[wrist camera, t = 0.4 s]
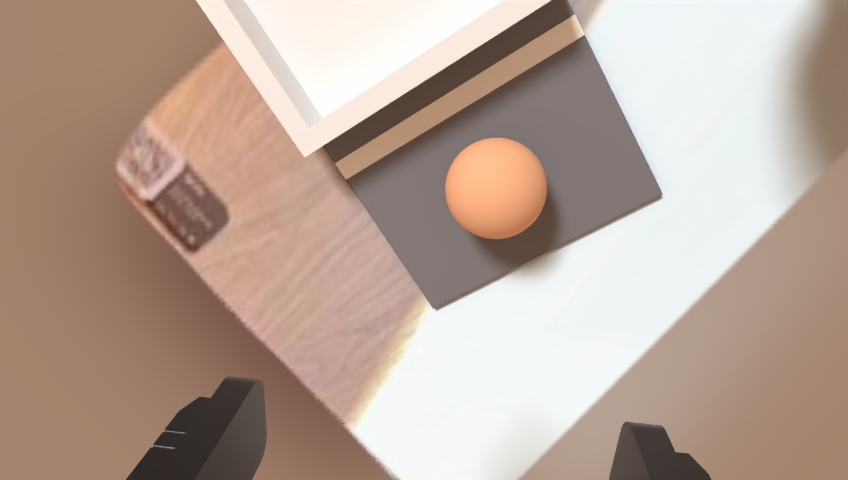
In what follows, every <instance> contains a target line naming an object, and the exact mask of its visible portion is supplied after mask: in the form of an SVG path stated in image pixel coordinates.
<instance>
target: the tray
mask: <svg viewBox="0 0 848 480" xmlns="http://www.w3.org/2000/svg"><path fill="white" fill-rule="evenodd" d="M196 1H197V2H198V4H199V5H200V7H201V8H202V10H203V11H204V12H205V14H206V15H207V17H208V18H209V20H210V21H211V23H212V24H213V25H214V27H215V28H216V30H217V31H218V33H219V34H220V36H221V37H222V39H223V40H224V41H225V43H226V44H227V46H228V47H229V49H230V50H231V52H232V53H233V54H234V56H235V57H236V59H237V60H238V62H239V63H240V65H241V66H242V68H243V69H244V70H245V72H246V73H247V75H248V76H249V78H250V79H251V81H252V82H253V83H254V85H255V86H256V88H257V89H258V91H259V92H260V94H261V95H262V97H263V98H264V99H265V101H266V102H267V104H268V105H269V107H270V108H271V110H272V111H273V112H274V114H275V115H276V117H277V118H278V120H279V121H280V123H281V124H282V126H283V127H284V128H285V130H286V131H287V133H288V134H289V136H290V137H291V139H292V140H293V141H294V143H295V144H296V146H297V147H298V149H299V150H300V152H301V153H302V154H303V156H304V157H306V156H308V155H309V154H311V153H312V152H314V151H315V150H317V149H319V148H320V147H322V146H323V145H325V144H326V143H328V142H330V141H331V140H333V139H334V138H336V137H337V136H339V135H341V134H342V133H344V132H345V131H347V130H348V129H350V128H352V127H353V126H355V125H356V124H358V123H359V122H361V121H363V120H364V119H366V118H367V117H369V116H370V115H372V114H374V113H375V112H377V111H378V110H380V109H381V108H383V107H385V106H386V105H388V104H389V103H391V102H392V101H394V100H396V99H397V98H399V97H400V96H402V95H403V94H405V93H407V92H408V91H410V90H411V89H413V88H414V87H416V86H418V85H419V84H421V83H422V82H424V81H425V80H427V79H429V78H430V77H432V76H433V75H435V74H436V73H438V72H440V71H441V70H443V69H444V68H446V67H447V66H449V65H451V64H452V63H454V62H455V61H457V60H458V59H460V58H462V57H463V56H465V55H466V54H468V53H469V52H471V51H473V50H474V49H476V48H477V47H479V46H480V45H482V44H484V43H485V42H487V41H488V40H490V39H491V38H493V37H495V36H496V35H498V34H499V33H501V32H502V31H504V30H506V29H507V28H509V27H510V26H512V25H513V24H515V23H517V22H518V21H520V20H521V19H523V18H524V17H526V16H528V15H529V14H531V13H532V12H534V11H535V10H537V9H539V8H540V7H542V6H543V5H545V4H546V3H548V2H550V1H551V0H196Z"/></svg>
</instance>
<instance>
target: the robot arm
mask: <svg viewBox="0 0 848 480" xmlns="http://www.w3.org/2000/svg"><path fill="white" fill-rule="evenodd" d="M264 400H265V399H264V386H263V383H262V381H261V380H256V379H248V378H238V377H230V376H229V377H226V378H225V379H224V380H223V382H222V383H221V384H220V386H219V387H218V389H217V390H216V391H215V393H214V394H213V396H212V397H211V398H206V397H199V398H197V399H196V400H194V401H193V402H191V403H190V404H189V405H187V406H186V407H185V408H183V409H181V410H180V411H179V412H178V413H177V414H176V416H175V417H174V418H173V419H172V421H171V422H170V423H169V425H168V426H167V427H166V429H165V432H164V433H162V434H161V435H160V436H159V438H158V439H157V440H156V441H155V443H154V446H153V448H150V449H149V451H148V452H147V453H146V454H145V456H144V457H143V458H142V460H141V461H140V462H139V463H138V465H137V466H136V467H135V469H134V470H133V472H132V473H131V474H130V475H129V476H128V478H127V479H126V480H252V478H253V476H254V475H255V472H256V471H257V469H258V466H259V464H260V462H261V460H262V457H263V454H264V450H265V445H266V437H267V431H266V415H265V401H264ZM609 480H711V478H710V476H709V474H708V473H707V472H706V471H705V470H704V469H703V468H702V467H701V466H700V465H699V464H698V463H697V462H696V461H695V460H694V459H693V458H692V457H691V456H690V455H689V454H687V453H678V452H675V450H674V448H673V446H672V444H671V441H670V439H669V437H668V435H667V433H666V431H665V429H664V427H662V426H660V425H651V424H643V423H634V422H625V423H624V424H623V426H622V429H621V432H620V436H619V440H618V444H617V448H616V452H615V457H614V460H613V465H612V469H611V473H610V478H609Z"/></svg>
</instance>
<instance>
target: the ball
mask: <svg viewBox="0 0 848 480" xmlns="http://www.w3.org/2000/svg"><path fill="white" fill-rule="evenodd" d="M445 193H446V200H447V204H448V207H449V209H450V211H451V213H452V215H453V216H454V218H455V219H456V221H457V222H458V223H459V224H460V225H461V226H462V227H463V228H465V229H466V230H468V231H469V232H471V233H473V234H475V235H477V236H480V237H483V238H488V239H503V238H508V237H511V236H514V235H517V234H519V233H521V232H522V231H524V230H525V229H527V228H528V227H529V226H530V225H531V224H532V223H533V222H534V221H535V220H536V219H537V217H538V216H539V214H540V213H541V211H542V209H543V206H544V204H545V200H546V196H547V181H546V175H545V172H544V169H543V167H542V165H541V163H540V161H539V160H538V158H537V157H536V156H535V155H534V153H533V152H532V151H531V150H529V149H528V148H527V147H526V146H524V145H522V144H521V143H519V142H516V141H514V140H511V139H506V138H488V139H483V140H480V141H477V142H475V143H473V144H471V145H469V146H468V147H466V148H465V149H464V150H463V151H462V152H460V154H459V155H458V156H457V157H456V158H455V160H454V161H453V163H452V165H451V167H450V169H449V171H448V174H447V178H446V184H445Z"/></svg>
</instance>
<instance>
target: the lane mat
mask: <svg viewBox="0 0 848 480" xmlns="http://www.w3.org/2000/svg"><path fill="white" fill-rule="evenodd" d="M488 138H506V139H511V140H514V141H516V142H519V143H521V144H522V145H524V146H526V147H527V148H528V149H529V150H531V151H532V152H533V153H534V155H535V156H536V157H537V158H538V160H539V161H540V163H541V165H542V167H543V169H544V172H545V175H546V181H547V196H546V200H545V204H544V206H543V209H542V211H541V213H540V214H539V216H538V217H537V219H536V220H535V221H534V222H533V223H532V224H531V225H530V226H529V227H528V228H527V229H525V230H524V231H522V232H521V233H519V234H517V235H514V236H511V237H508V238H503V239H488V238H483V237H480V236H477V235H475V234H473V233H471V232H469V231H468V230H466V229H465V228H463V227H462V226H461V225H460V224H459V223H458V222H457V221H456V219H455V218H454V216H453V215H452V213H451V211H450V209H449V207H448V204H447V200H446V193H445V184H446V178H447V174H448V171H449V169H450V167H451V165H452V163H453V161H454V160H455V158H456V157H457V156H458V155H459V154H460V152H462V151H463V150H464V149H465V148H466V147H468V146H469V145H471V144H473V143H475V142H477V141H480V140H483V139H488ZM323 146H324V147H325V149H326V150H327V152H328V153H329V155H330V156H331V158H332V159H333V161H334V162H335V165H336V166H337V168H338V169H339V171H340V172H341V174H342V175H343V176H344V178H345V179H346V180H347V181H348V183H349V184H350V186H351V187H352V189H353V190H354V192H355V193H356V195H357V196H358V198H359V199H360V201H361V202H362V204H363V205H364V207H365V208H366V210H367V211H368V213H369V214H370V216H371V217H372V218H373V220H374V221H375V223H376V224H377V226H378V227H379V229H380V230H381V232H382V233H383V235H384V236H385V238H386V239H387V241H388V242H389V244H390V245H391V247H392V248H393V250H394V251H395V253H396V254H397V256H398V257H399V259H400V260H401V262H402V263H403V264H404V266H405V267H406V269H407V270H408V272H409V273H410V275H411V276H412V278H413V279H414V281H415V282H416V284H417V285H418V287H419V288H420V290H421V291H422V293H423V294H424V296H425V297H426V299H427V300H428V302H429V303H430V305H431V306H432V307H433V309H434V308H436V307H438V306H440V305H442V304H444V303H446V302H448V301H450V300H452V299H454V298H456V297H458V296H460V295H462V294H464V293H466V292H468V291H470V290H472V289H474V288H476V287H478V286H480V285H482V284H484V283H486V282H488V281H490V280H492V279H494V278H496V277H498V276H500V275H502V274H504V273H506V272H508V271H510V270H512V269H514V268H516V267H518V266H520V265H522V264H524V263H526V262H528V261H530V260H532V259H534V258H536V257H538V256H540V255H542V254H544V253H546V252H548V251H550V250H552V249H554V248H556V247H558V246H560V245H562V244H564V243H566V242H568V241H570V240H572V239H574V238H576V237H578V236H580V235H582V234H584V233H586V232H588V231H590V230H592V229H594V228H596V227H598V226H600V225H602V224H604V223H606V222H608V221H610V220H612V219H614V218H616V217H618V216H620V215H622V214H624V213H626V212H628V211H630V210H632V209H634V208H636V207H638V206H640V205H642V204H644V203H646V202H648V201H650V200H652V199H654V198H656V197H658V196H660V195H662V192H661V190H660V188H659V186H658V184H657V182H656V179H655V177H654V175H653V173H652V171H651V169H650V167H649V165H648V163H647V161H646V159H645V157H644V155H643V153H642V151H641V149H640V147H639V145H638V143H637V141H636V139H635V137H634V135H633V133H632V131H631V128H630V126H629V124H628V122H627V120H626V118H625V116H624V114H623V112H622V110H621V108H620V106H619V104H618V102H617V100H616V98H615V96H614V94H613V92H612V90H611V88H610V86H609V84H608V82H607V80H606V78H605V75H604V73H603V71H602V69H601V67H600V65H599V63H598V61H597V59H596V57H595V55H594V53H593V51H592V49H591V47H590V45H589V43H588V41H587V39H586V37H585V34H584V32H583V30H582V28H581V26H580V24H579V22H578V20H577V18H576V16H575V14H574V12H573V10H572V8H571V6H570V4H569V2H568V0H551V1H550V2H548V3H546V4H545V5H543V6H542V7H540V8H539V9H537V10H535V11H534V12H532V13H531V14H529V15H528V16H526V17H524V18H523V19H521V20H520V21H518V22H517V23H515V24H513V25H512V26H510V27H509V28H507V29H506V30H504V31H502V32H501V33H499V34H498V35H496V36H495V37H493V38H491V39H490V40H488V41H487V42H485V43H484V44H482V45H480V46H479V47H477V48H476V49H474V50H473V51H471V52H469V53H468V54H466V55H465V56H463V57H462V58H460V59H458V60H457V61H455V62H454V63H452V64H451V65H449V66H447V67H446V68H444V69H443V70H441V71H440V72H438V73H436V74H435V75H433V76H432V77H430V78H429V79H427V80H425V81H424V82H422V83H421V84H419V85H418V86H416V87H414V88H413V89H411V90H410V91H408V92H407V93H405V94H403V95H402V96H400V97H399V98H397V99H396V100H394V101H392V102H391V103H389V104H388V105H386V106H385V107H383V108H381V109H380V110H378V111H377V112H375V113H374V114H372V115H370V116H369V117H367V118H366V119H364V120H363V121H361V122H359V123H358V124H356V125H355V126H353V127H352V128H350V129H348V130H347V131H345V132H344V133H342V134H341V135H339V136H337V137H336V138H334V139H333V140H331V141H330V142H328V143H326V144H325V145H323Z"/></svg>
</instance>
